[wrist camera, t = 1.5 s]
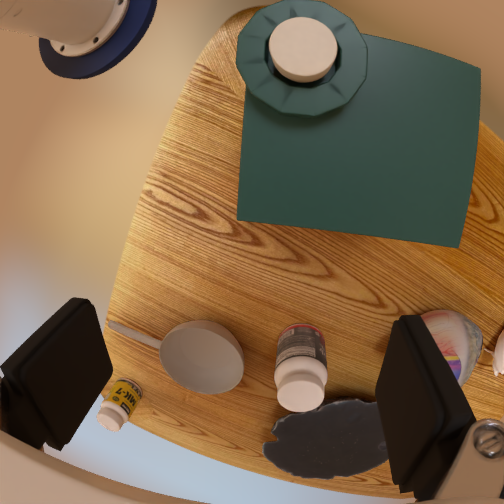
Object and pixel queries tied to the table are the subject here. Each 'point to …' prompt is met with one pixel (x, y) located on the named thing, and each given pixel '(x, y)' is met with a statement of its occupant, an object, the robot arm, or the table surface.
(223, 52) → the table surface
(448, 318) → the anatomical model
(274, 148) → the teal box with knob
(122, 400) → the supplement bottle
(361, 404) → the board
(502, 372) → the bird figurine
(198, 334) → the small pan
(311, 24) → the round beige push button
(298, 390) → the pill bottle
